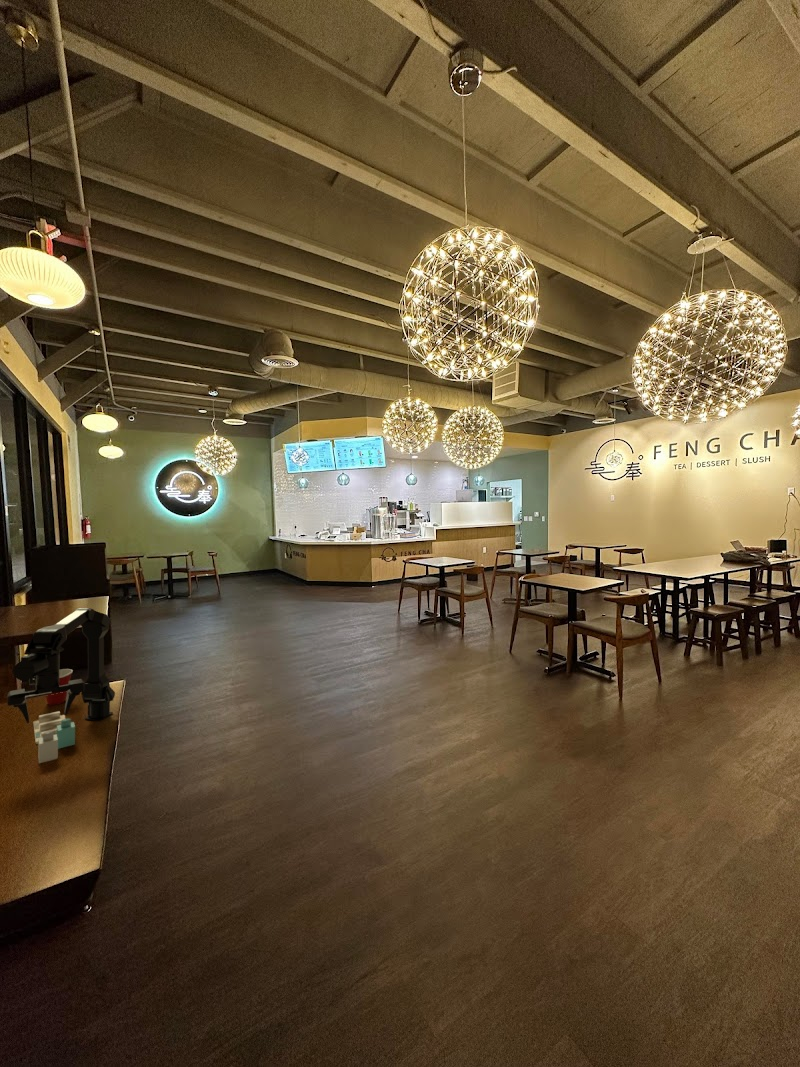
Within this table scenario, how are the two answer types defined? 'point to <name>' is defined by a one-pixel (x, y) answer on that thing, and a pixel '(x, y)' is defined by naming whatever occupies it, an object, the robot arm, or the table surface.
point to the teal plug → (66, 733)
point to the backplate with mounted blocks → (47, 724)
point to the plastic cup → (63, 680)
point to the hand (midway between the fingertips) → (47, 718)
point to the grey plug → (47, 747)
